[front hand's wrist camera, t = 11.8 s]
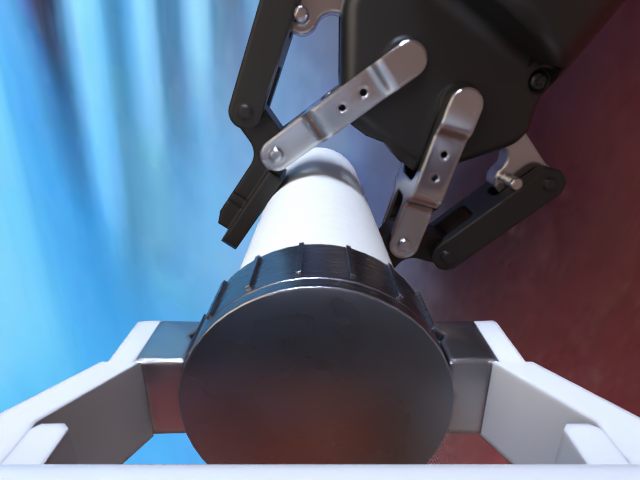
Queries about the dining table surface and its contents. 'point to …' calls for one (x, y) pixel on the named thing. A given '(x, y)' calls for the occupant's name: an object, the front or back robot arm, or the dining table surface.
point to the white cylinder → (318, 209)
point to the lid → (316, 365)
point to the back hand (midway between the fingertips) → (283, 270)
